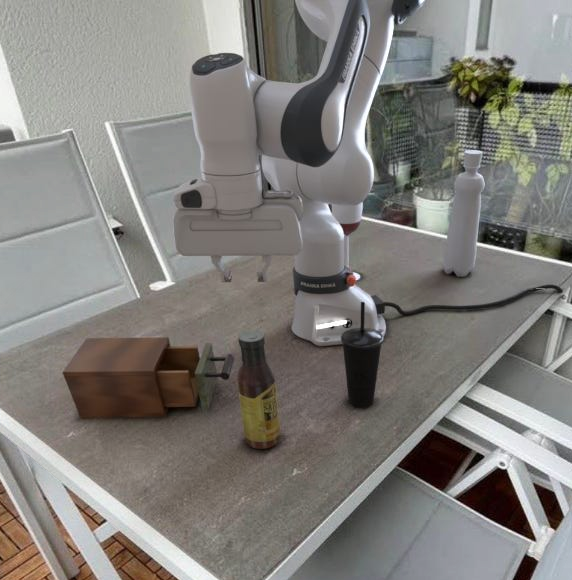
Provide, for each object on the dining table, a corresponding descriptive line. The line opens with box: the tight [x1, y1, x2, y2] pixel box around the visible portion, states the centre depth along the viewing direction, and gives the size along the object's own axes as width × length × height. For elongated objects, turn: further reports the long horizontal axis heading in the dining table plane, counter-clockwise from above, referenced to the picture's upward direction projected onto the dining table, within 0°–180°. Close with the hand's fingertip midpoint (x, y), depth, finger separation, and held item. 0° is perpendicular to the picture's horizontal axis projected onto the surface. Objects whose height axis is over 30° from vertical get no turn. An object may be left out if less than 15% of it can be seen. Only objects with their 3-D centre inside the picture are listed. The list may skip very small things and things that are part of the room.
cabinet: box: [62, 336, 171, 419], centre depth 104 cm, size 16×13×10 cm
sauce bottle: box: [237, 330, 281, 450], centre depth 91 cm, size 7×6×20 cm
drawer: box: [155, 342, 235, 411], centre depth 104 cm, size 19×12×8 cm, turn 92°
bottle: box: [441, 149, 486, 278], centre depth 147 cm, size 9×9×30 cm
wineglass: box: [331, 201, 364, 281], centre depth 147 cm, size 8×9×20 cm
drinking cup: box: [341, 302, 384, 409], centre depth 100 cm, size 8×8×20 cm
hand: (244, 280), depth 92 cm, fingers open, 5 cm apart
